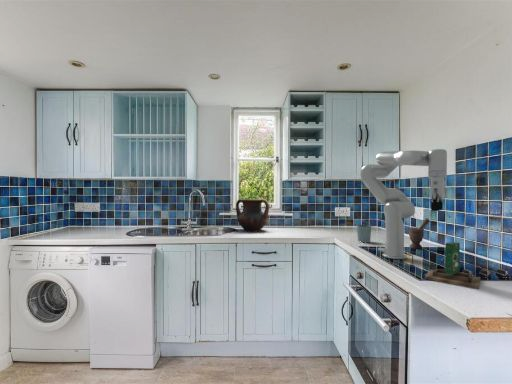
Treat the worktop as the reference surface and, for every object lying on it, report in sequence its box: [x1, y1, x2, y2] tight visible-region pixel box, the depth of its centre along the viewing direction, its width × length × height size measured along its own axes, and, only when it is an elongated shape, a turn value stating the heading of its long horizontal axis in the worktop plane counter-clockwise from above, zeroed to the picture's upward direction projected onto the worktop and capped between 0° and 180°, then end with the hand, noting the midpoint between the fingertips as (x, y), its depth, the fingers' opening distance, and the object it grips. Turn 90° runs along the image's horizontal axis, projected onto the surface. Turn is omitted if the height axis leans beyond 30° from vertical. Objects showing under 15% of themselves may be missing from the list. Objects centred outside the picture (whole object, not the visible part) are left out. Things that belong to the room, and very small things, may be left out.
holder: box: [424, 268, 481, 290], centre depth 118 cm, size 18×14×3 cm
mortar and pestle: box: [408, 218, 431, 250], centre depth 183 cm, size 12×9×20 cm
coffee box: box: [444, 241, 461, 275], centre depth 118 cm, size 8×3×13 cm, turn 125°
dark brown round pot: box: [235, 198, 270, 233], centre depth 259 cm, size 32×28×30 cm
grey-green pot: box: [356, 224, 372, 243], centre depth 205 cm, size 10×10×12 cm
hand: (437, 210), depth 135 cm, fingers open, 9 cm apart
